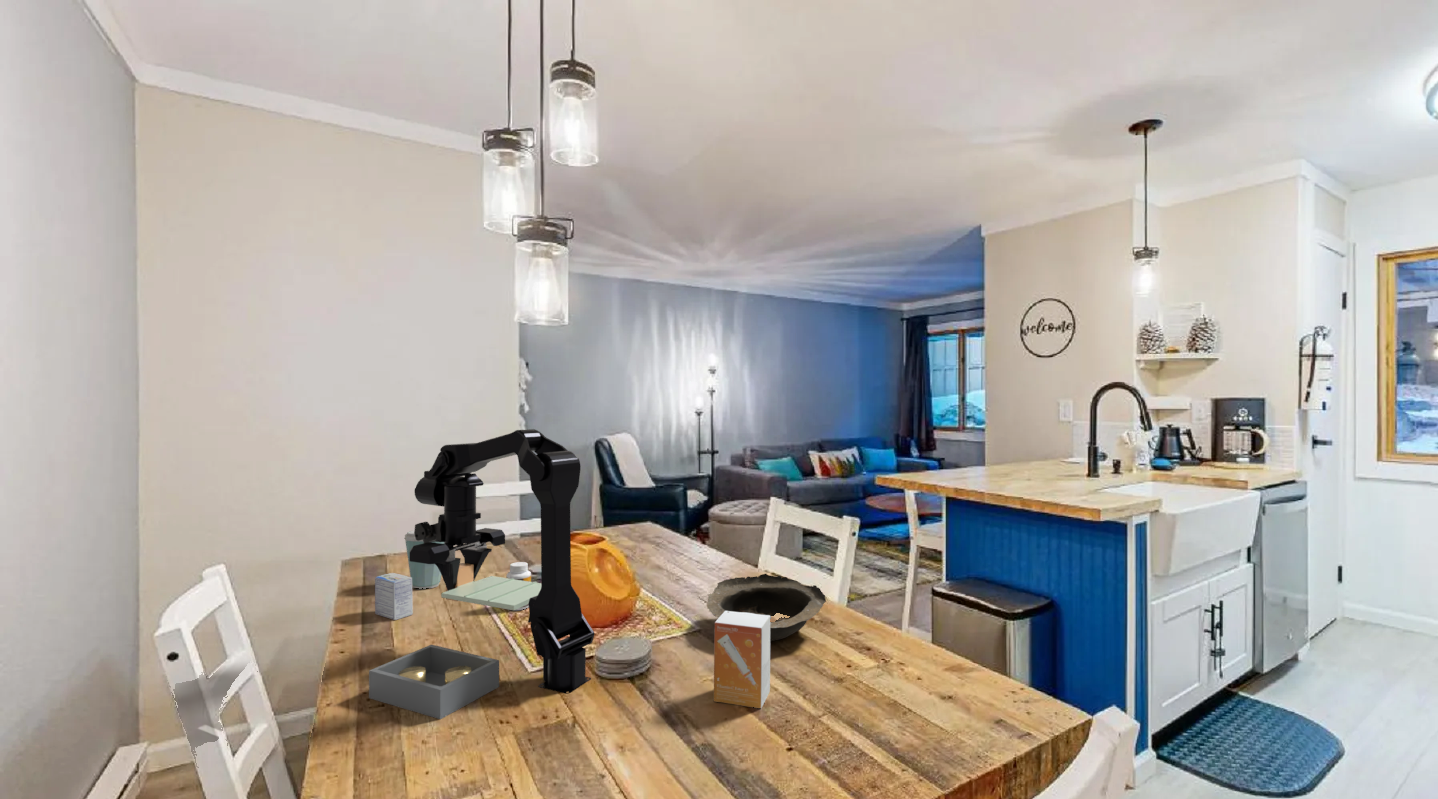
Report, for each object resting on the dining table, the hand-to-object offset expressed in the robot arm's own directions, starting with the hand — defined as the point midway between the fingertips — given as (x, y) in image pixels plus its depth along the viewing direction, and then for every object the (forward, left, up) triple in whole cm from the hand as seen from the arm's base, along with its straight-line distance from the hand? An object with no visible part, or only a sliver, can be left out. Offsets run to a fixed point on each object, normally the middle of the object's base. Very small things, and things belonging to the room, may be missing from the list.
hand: (460, 589), depth 122 cm
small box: (-56, -6, -12) cm, 58 cm away
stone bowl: (-49, -35, -12) cm, 62 cm away
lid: (-9, 0, -1) cm, 9 cm away
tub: (-10, +15, -12) cm, 22 cm away
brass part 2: (-14, +13, -12) cm, 22 cm away
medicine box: (+31, -9, -12) cm, 34 cm away
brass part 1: (-7, +17, -12) cm, 21 cm away
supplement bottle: (+9, -25, -12) cm, 29 cm away
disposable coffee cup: (+43, -28, -12) cm, 52 cm away
